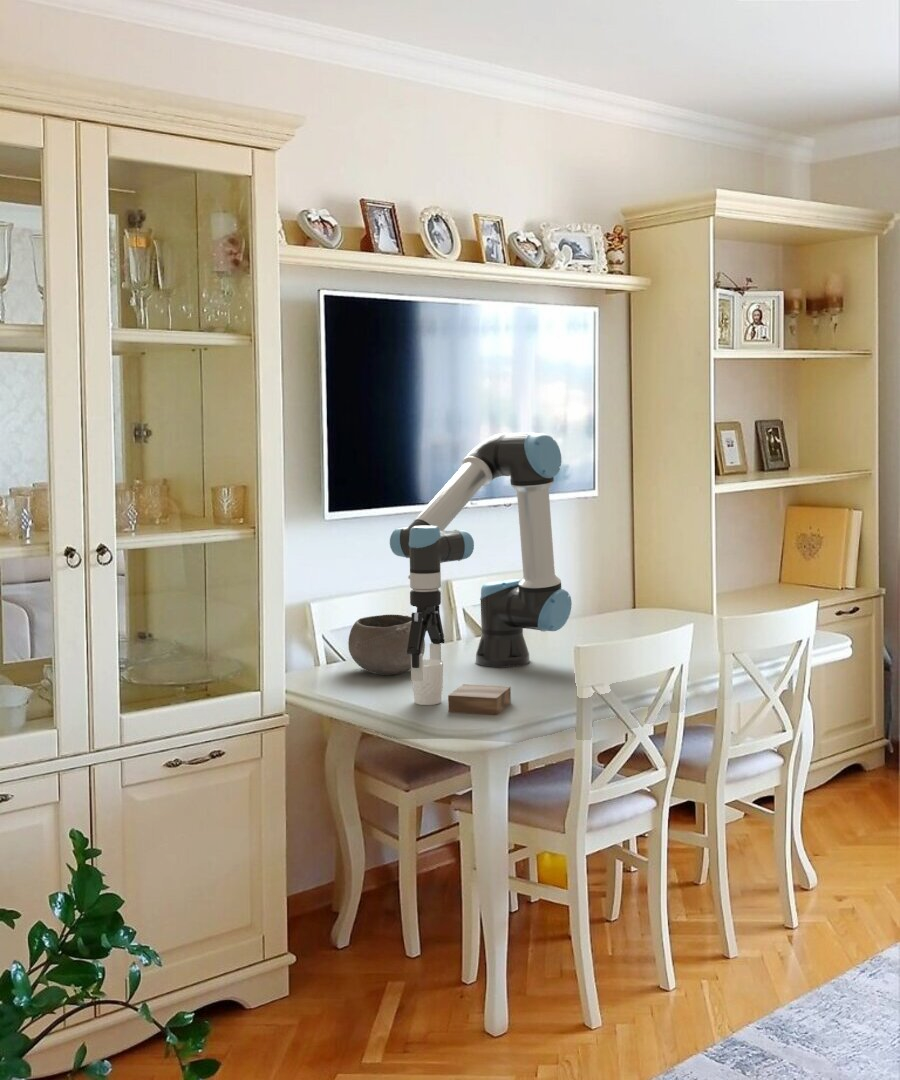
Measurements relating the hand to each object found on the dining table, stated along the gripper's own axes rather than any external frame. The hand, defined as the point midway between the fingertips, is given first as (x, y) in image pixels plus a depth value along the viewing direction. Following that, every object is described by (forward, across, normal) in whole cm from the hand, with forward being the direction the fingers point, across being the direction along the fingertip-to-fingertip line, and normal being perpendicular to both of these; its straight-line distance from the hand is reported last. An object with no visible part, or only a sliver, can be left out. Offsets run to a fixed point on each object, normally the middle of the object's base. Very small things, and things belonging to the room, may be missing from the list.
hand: (426, 675), depth 308 cm
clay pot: (+7, -29, -22) cm, 37 cm away
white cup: (+7, 0, 0) cm, 7 cm away
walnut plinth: (+7, +2, +14) cm, 16 cm away
